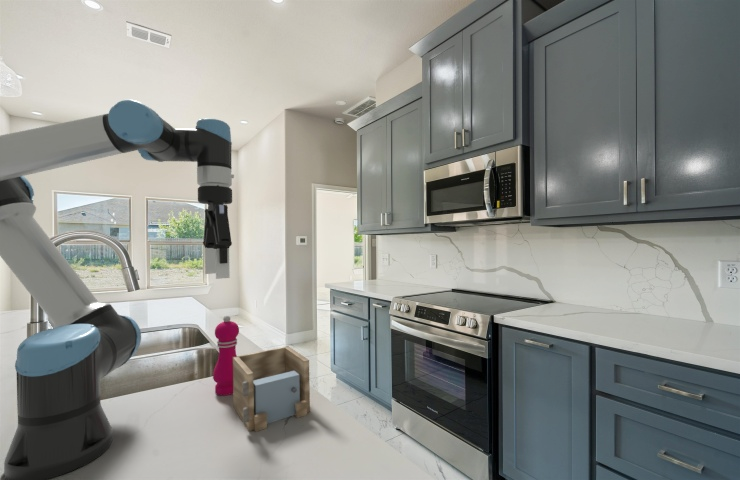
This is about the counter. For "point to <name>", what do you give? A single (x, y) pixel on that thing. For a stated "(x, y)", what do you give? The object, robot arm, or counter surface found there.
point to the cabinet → (263, 367)
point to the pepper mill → (225, 356)
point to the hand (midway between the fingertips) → (216, 275)
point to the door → (277, 395)
